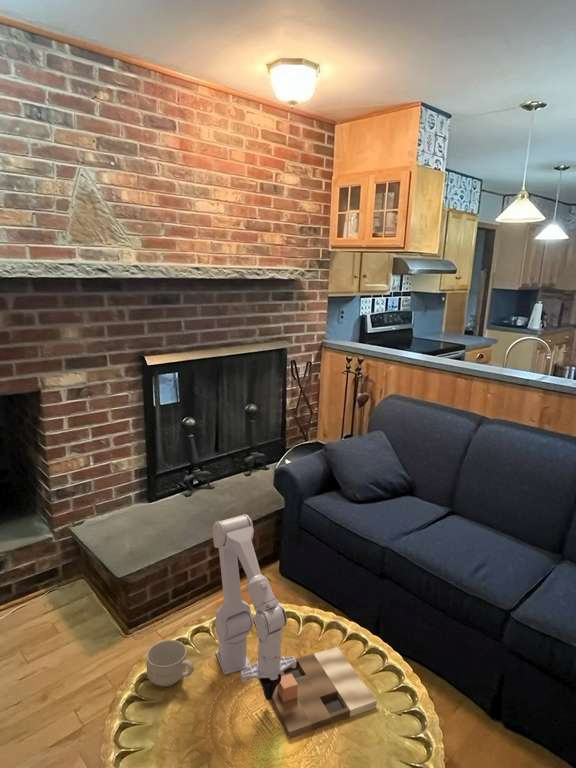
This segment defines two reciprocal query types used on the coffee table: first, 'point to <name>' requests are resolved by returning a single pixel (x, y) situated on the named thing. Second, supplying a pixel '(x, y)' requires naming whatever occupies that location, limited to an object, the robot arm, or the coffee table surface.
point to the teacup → (167, 662)
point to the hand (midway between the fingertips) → (267, 696)
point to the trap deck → (322, 693)
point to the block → (287, 687)
